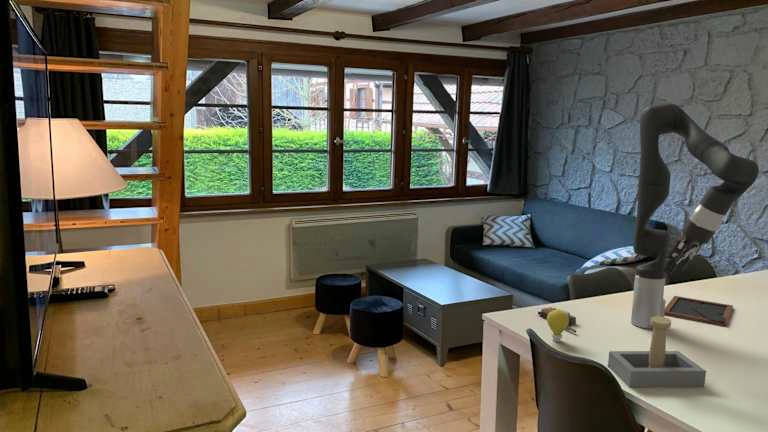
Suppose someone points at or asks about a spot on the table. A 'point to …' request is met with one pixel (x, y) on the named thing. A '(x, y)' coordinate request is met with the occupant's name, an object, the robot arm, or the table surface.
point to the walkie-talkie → (572, 319)
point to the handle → (658, 341)
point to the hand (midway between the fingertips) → (672, 270)
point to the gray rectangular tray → (656, 370)
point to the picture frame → (699, 310)
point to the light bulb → (557, 323)
